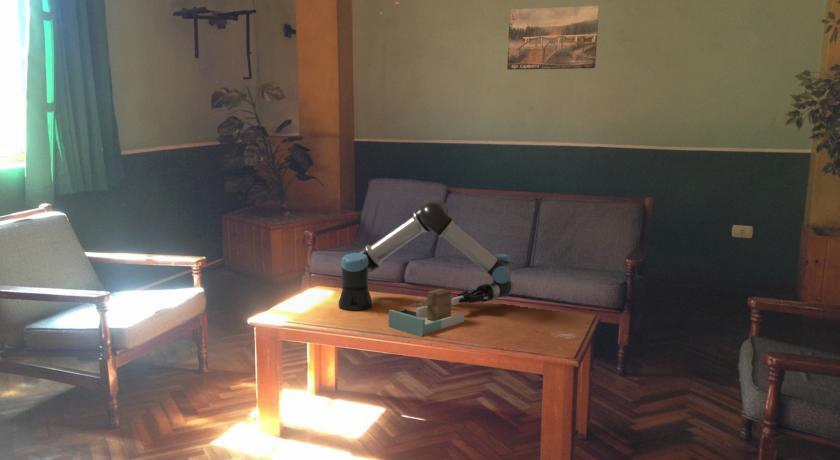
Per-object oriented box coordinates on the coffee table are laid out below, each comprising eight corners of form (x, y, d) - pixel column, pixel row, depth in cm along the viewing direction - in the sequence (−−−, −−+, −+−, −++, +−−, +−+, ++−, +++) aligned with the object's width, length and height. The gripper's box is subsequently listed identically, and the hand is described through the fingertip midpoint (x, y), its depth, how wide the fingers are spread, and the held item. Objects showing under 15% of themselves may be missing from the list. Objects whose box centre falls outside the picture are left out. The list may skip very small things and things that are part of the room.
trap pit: (390, 320, 302) (390, 313, 301) (405, 316, 308) (405, 309, 308) (400, 323, 297) (400, 316, 297) (416, 319, 304) (416, 312, 303)
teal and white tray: (388, 326, 292) (388, 310, 291) (430, 314, 310) (430, 299, 309) (422, 337, 279) (422, 319, 278) (464, 323, 297) (464, 307, 296)
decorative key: (411, 312, 325) (452, 310, 316) (410, 313, 323) (451, 311, 315) (409, 297, 324) (450, 295, 315) (408, 298, 323) (448, 296, 314)
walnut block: (427, 319, 299) (427, 291, 297) (440, 316, 305) (440, 288, 303) (437, 322, 295) (438, 294, 293) (450, 318, 300) (451, 291, 299)
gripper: (498, 302, 317) (464, 313, 301) (476, 297, 326) (441, 307, 310) (499, 286, 316) (464, 296, 299) (476, 281, 325) (441, 290, 308)
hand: (452, 301), depth 305 cm, fingers closed
